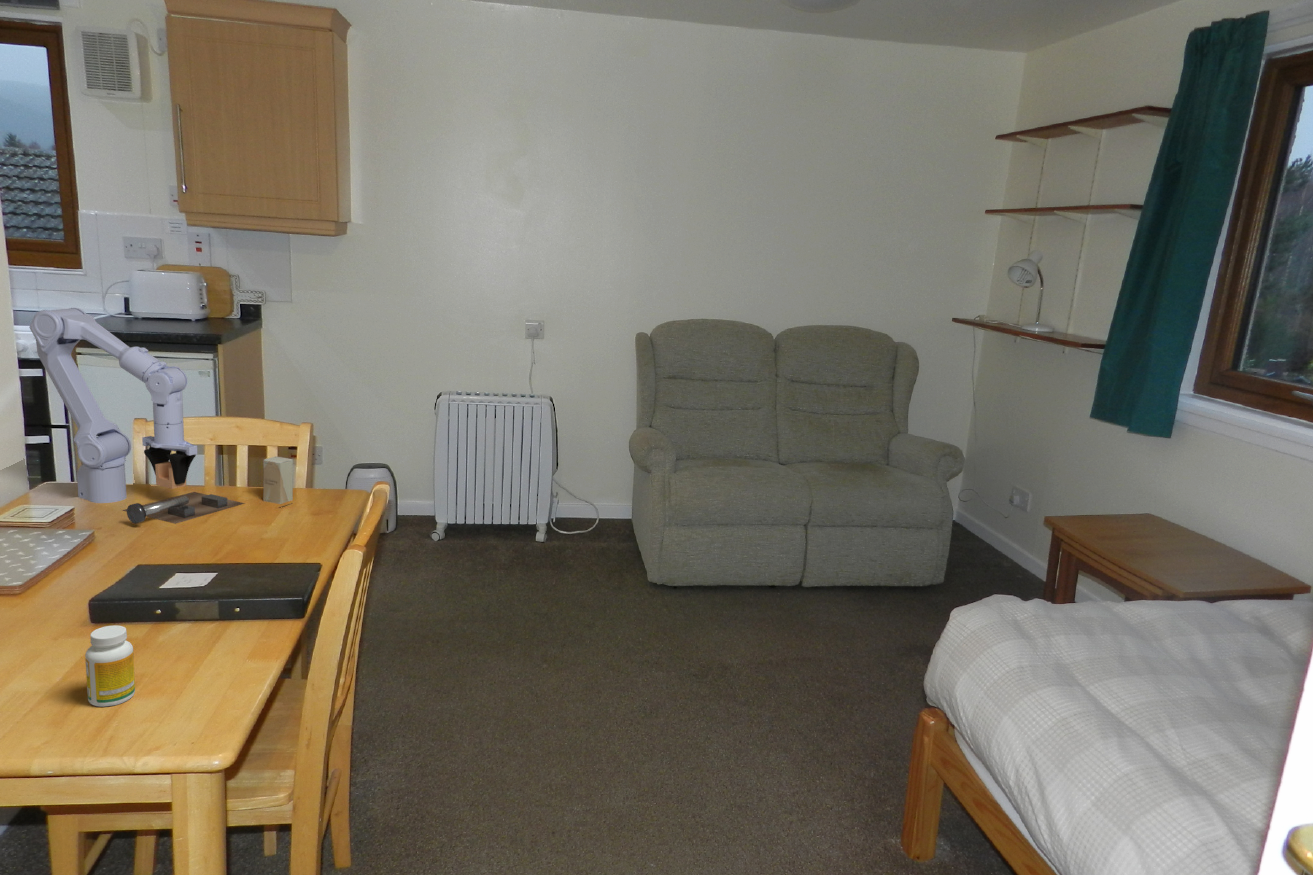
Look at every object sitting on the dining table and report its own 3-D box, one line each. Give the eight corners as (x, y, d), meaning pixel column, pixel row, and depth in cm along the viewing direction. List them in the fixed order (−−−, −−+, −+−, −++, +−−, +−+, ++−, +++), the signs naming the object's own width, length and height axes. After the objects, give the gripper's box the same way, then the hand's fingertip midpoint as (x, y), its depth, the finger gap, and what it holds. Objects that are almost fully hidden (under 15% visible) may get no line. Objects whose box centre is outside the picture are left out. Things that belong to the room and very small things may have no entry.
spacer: (156, 485, 187) (155, 464, 186) (170, 481, 191) (169, 461, 190) (172, 488, 186) (171, 467, 185) (186, 485, 189) (185, 464, 188)
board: (122, 514, 182) (122, 510, 182) (194, 495, 199) (194, 491, 199) (175, 527, 177) (175, 523, 177) (245, 507, 193) (244, 503, 193)
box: (262, 504, 196) (261, 459, 194) (275, 500, 200) (275, 455, 198) (281, 508, 195) (280, 462, 192) (294, 503, 199) (293, 458, 196)
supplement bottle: (78, 702, 111) (73, 635, 109) (114, 684, 116) (110, 619, 114) (110, 711, 109) (105, 643, 107) (145, 692, 114) (141, 627, 112)
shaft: (127, 521, 173) (126, 502, 172) (179, 507, 184) (179, 489, 183) (141, 524, 171) (140, 506, 171) (193, 510, 183) (192, 492, 182)
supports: (168, 513, 182) (167, 505, 182) (211, 502, 192) (210, 494, 192) (184, 518, 180) (184, 509, 180) (227, 505, 190) (227, 497, 190)
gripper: (128, 420, 184) (131, 479, 187) (176, 429, 179) (178, 490, 182) (157, 415, 190) (160, 473, 193) (204, 424, 185) (206, 483, 188)
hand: (171, 481), depth 188 cm, fingers closed on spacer, 5 cm apart
